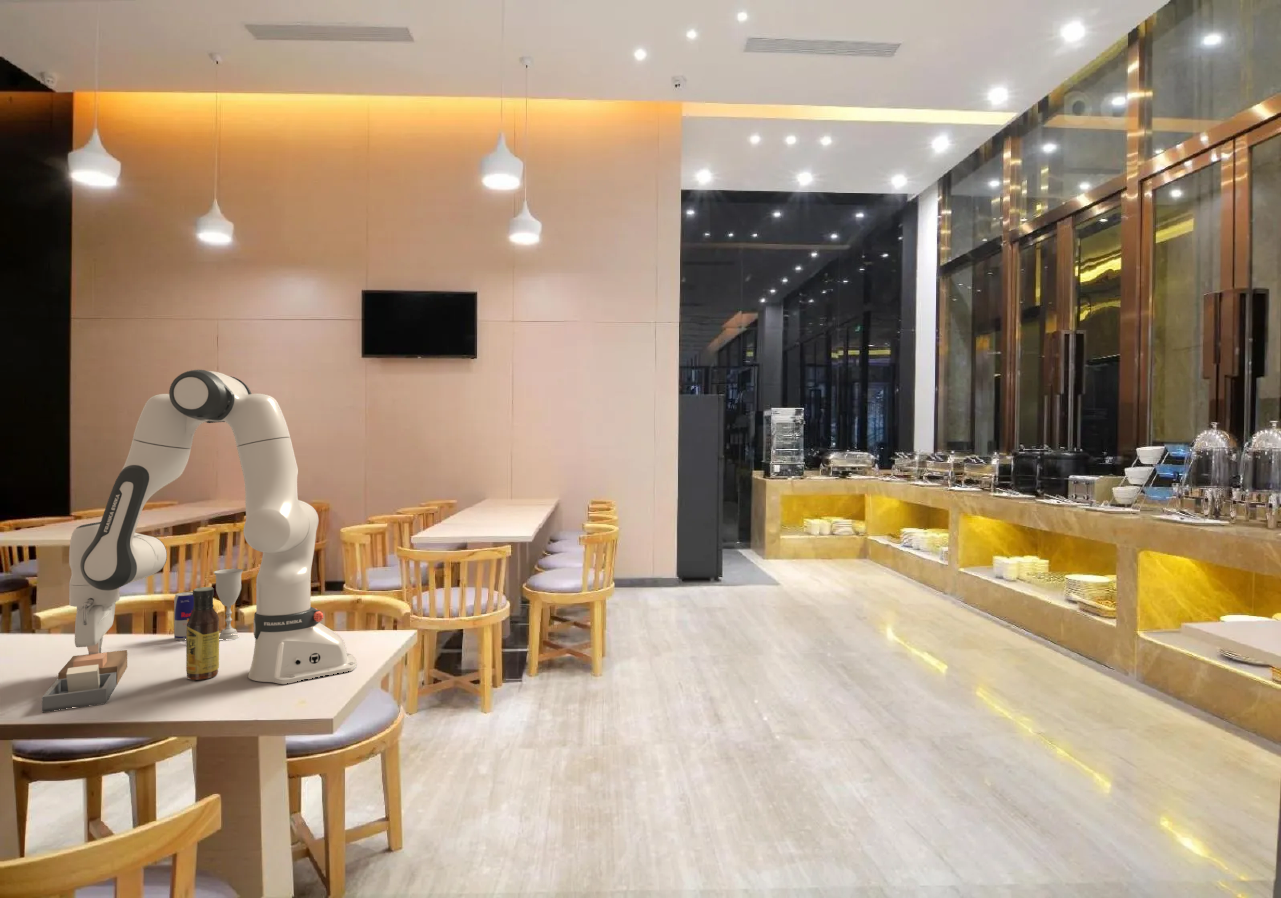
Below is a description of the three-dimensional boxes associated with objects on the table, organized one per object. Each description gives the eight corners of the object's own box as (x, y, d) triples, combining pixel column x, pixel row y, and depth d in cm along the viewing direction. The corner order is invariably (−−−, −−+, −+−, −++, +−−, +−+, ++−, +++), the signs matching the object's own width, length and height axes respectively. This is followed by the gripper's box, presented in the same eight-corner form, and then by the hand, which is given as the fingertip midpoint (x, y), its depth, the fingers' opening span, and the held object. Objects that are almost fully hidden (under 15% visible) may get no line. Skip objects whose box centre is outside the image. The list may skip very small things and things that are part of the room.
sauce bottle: (184, 676, 159) (184, 587, 159) (217, 671, 163) (217, 584, 163) (187, 684, 154) (187, 592, 154) (221, 678, 158) (221, 589, 158)
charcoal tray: (116, 686, 153) (116, 672, 153) (106, 703, 142) (105, 688, 142) (57, 693, 148) (57, 679, 148) (42, 712, 137) (42, 697, 137)
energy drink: (186, 641, 188) (186, 596, 188) (169, 640, 189) (169, 595, 189) (202, 636, 193) (202, 592, 193) (186, 635, 194) (185, 591, 194)
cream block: (98, 664, 148) (97, 670, 147) (100, 683, 150) (98, 689, 149) (68, 668, 146) (66, 674, 144) (70, 687, 148) (68, 693, 146)
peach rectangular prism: (107, 661, 157) (107, 652, 157) (102, 667, 153) (102, 658, 153) (78, 664, 155) (78, 655, 155) (73, 671, 150) (73, 661, 150)
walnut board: (127, 667, 166) (127, 650, 166) (117, 684, 154) (117, 666, 154) (73, 673, 161) (73, 656, 161) (58, 692, 149) (58, 673, 149)
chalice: (248, 637, 192) (248, 570, 192) (222, 642, 186) (222, 574, 186) (234, 633, 196) (234, 568, 196) (208, 638, 190) (208, 571, 190)
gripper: (103, 602, 149) (103, 668, 149) (120, 585, 167) (120, 644, 167) (65, 605, 146) (65, 672, 146) (86, 588, 164) (87, 648, 165)
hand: (95, 657), depth 157 cm, fingers closed
